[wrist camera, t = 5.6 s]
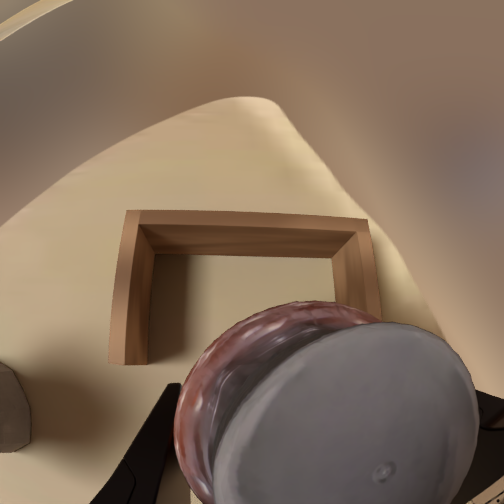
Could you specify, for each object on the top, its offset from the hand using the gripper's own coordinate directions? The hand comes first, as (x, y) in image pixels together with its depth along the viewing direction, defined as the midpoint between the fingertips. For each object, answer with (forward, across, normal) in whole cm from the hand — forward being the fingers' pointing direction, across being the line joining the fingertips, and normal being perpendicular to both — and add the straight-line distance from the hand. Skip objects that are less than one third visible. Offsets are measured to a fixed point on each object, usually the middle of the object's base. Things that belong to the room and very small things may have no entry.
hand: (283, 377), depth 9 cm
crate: (+11, 0, +4) cm, 12 cm away
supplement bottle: (+4, 0, +6) cm, 7 cm away
